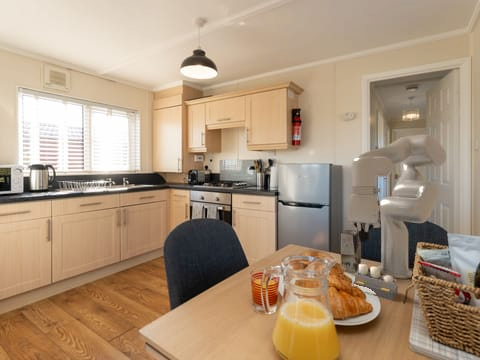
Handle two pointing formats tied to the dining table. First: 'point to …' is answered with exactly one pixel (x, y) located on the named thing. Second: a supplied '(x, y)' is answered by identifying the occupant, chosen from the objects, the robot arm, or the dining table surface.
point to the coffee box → (350, 250)
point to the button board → (378, 285)
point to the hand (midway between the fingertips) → (363, 241)
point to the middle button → (375, 272)
